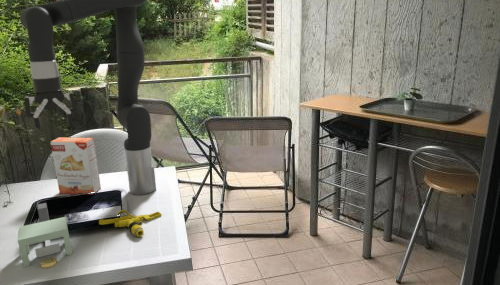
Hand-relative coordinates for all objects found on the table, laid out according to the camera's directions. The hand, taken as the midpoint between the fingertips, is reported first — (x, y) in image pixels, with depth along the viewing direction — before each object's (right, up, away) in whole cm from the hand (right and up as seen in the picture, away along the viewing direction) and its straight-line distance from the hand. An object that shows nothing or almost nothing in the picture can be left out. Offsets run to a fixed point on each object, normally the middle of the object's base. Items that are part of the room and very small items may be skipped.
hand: (54, 127), depth 127 cm
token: (+8, -38, -19) cm, 43 cm away
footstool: (+5, -36, -15) cm, 39 cm away
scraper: (+2, -34, -9) cm, 35 cm away
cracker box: (-3, -24, +26) cm, 35 cm away
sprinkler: (+26, -32, -1) cm, 41 cm away
